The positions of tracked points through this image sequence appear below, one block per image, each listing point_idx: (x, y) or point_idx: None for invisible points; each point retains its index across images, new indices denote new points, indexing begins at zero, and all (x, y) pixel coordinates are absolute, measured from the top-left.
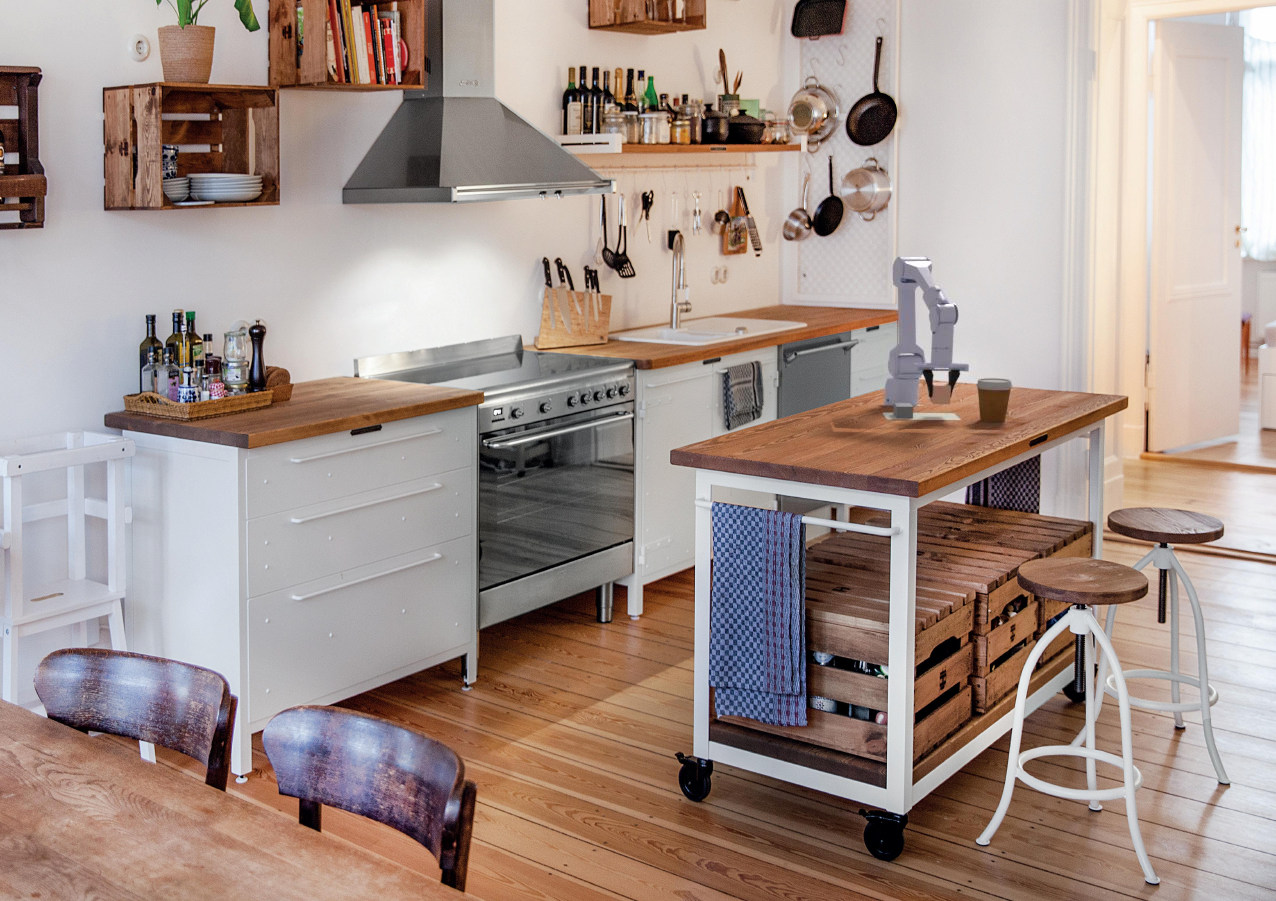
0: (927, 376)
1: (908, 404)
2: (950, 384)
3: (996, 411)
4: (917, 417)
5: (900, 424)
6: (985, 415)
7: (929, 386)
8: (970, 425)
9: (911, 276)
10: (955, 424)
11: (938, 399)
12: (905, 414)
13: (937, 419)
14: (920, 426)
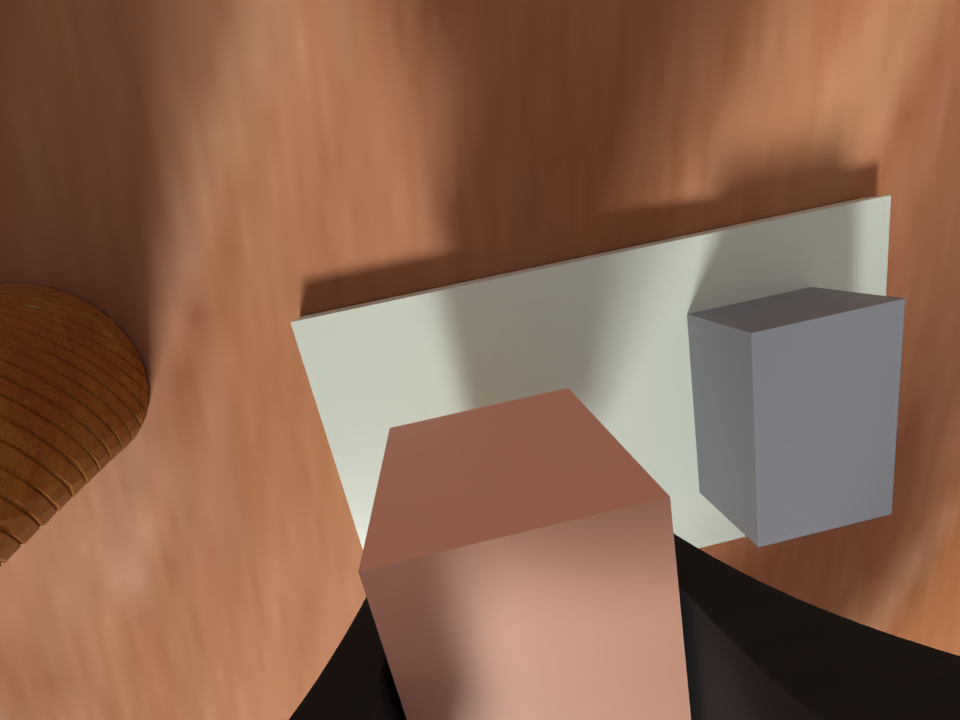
0: None
1: (781, 456)
2: (378, 684)
3: None
4: (650, 359)
5: (770, 156)
6: (12, 302)
7: (722, 568)
8: (212, 256)
9: None
10: (342, 275)
11: (526, 419)
12: (765, 305)
13: (493, 302)
14: (620, 87)
